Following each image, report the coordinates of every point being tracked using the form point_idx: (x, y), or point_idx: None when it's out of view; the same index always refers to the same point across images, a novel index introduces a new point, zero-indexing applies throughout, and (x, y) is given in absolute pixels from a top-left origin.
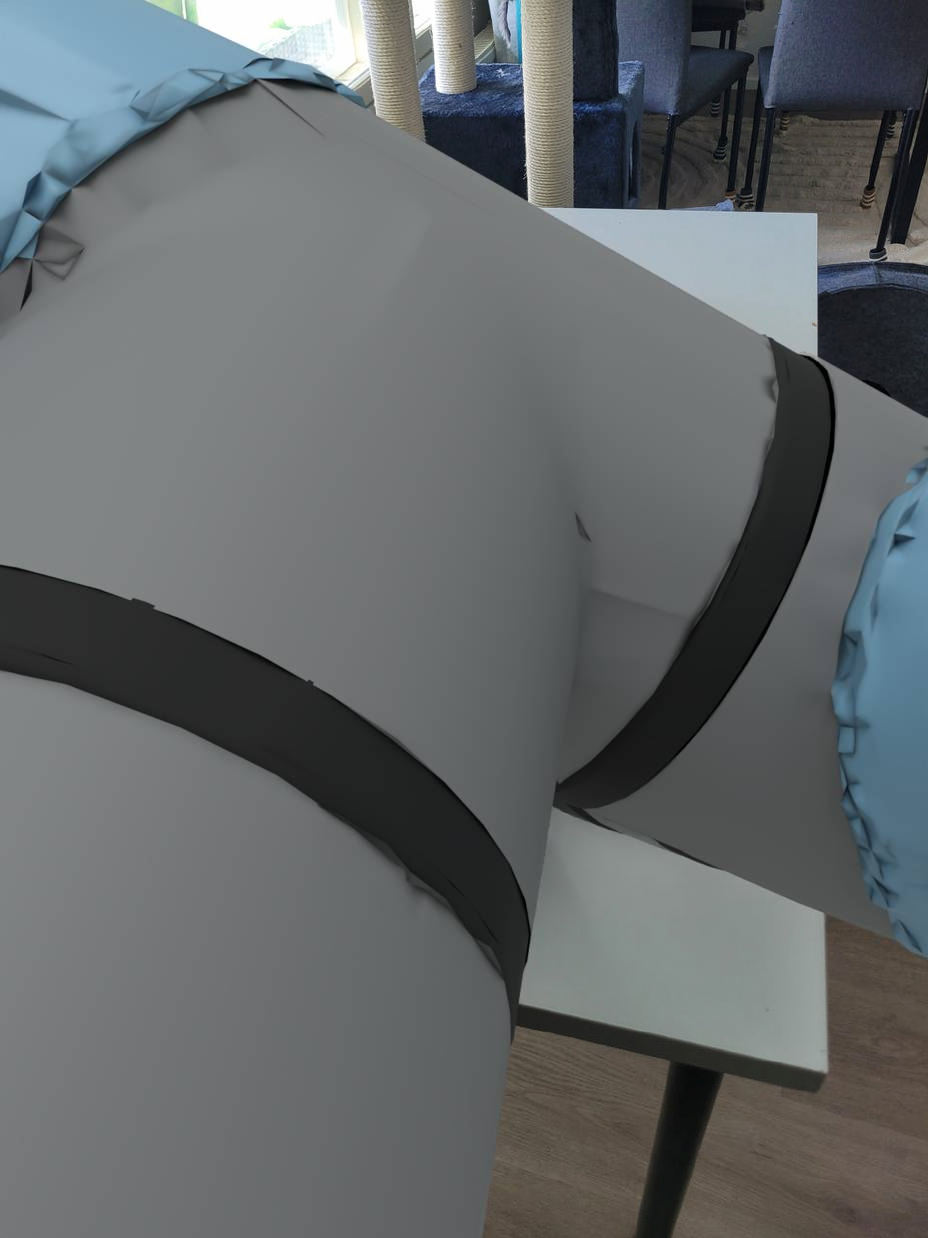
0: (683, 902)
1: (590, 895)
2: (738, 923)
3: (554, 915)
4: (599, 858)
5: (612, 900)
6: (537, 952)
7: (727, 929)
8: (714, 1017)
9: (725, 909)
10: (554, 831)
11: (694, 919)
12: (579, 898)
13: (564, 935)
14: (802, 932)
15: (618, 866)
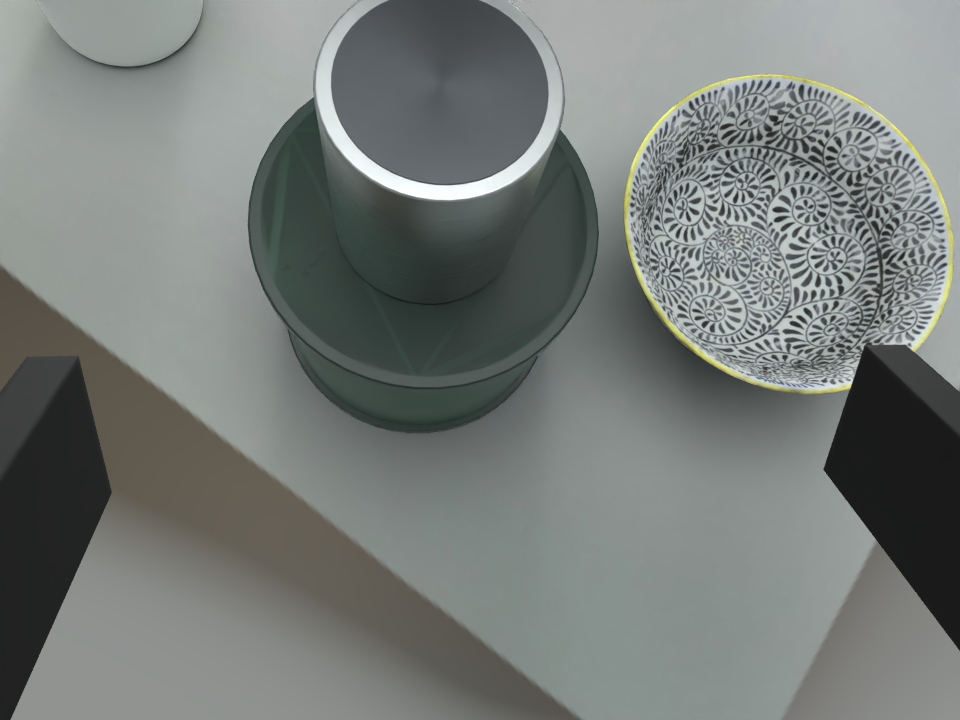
0: (671, 550)
1: (560, 485)
2: (724, 610)
3: (501, 490)
4: (596, 439)
5: (584, 505)
6: (456, 531)
7: (707, 611)
8: (632, 716)
9: (718, 584)
10: (557, 372)
11: (673, 579)
12: (544, 482)
13: (501, 524)
14: (795, 658)
15: (615, 461)
